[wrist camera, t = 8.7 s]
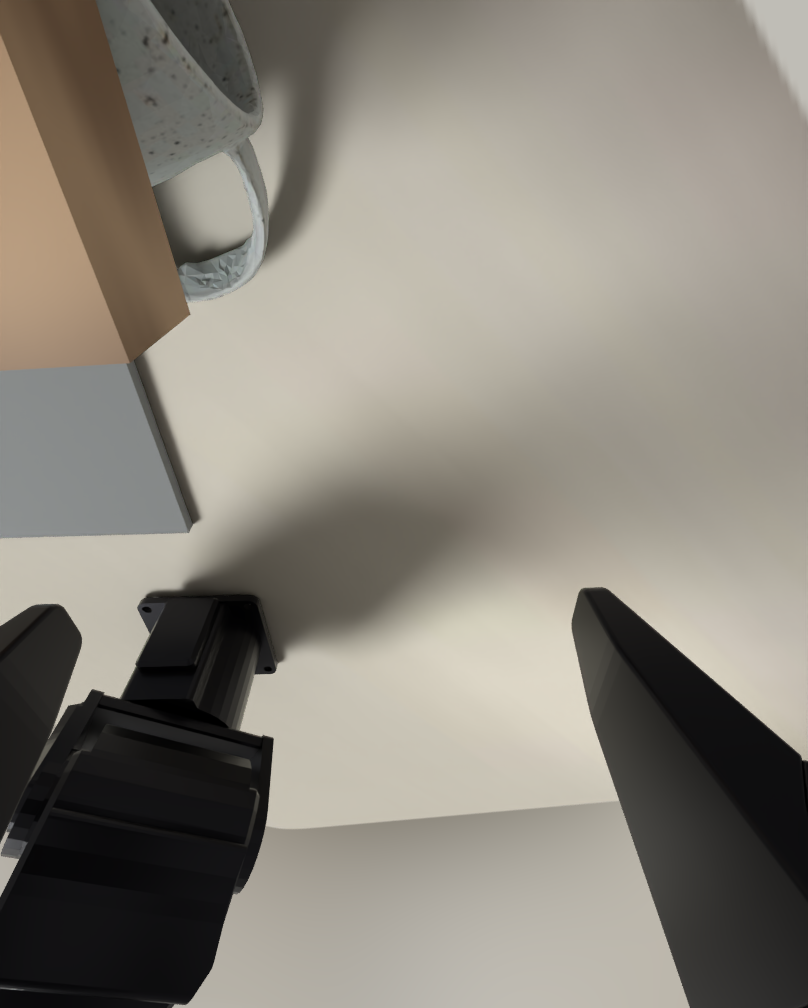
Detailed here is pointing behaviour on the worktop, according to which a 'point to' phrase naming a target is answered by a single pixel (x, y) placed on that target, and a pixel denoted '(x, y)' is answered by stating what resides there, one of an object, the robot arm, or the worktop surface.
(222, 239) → the worktop surface
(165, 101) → the ceramic mug
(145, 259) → the lid
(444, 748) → the worktop surface
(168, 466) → the mat
